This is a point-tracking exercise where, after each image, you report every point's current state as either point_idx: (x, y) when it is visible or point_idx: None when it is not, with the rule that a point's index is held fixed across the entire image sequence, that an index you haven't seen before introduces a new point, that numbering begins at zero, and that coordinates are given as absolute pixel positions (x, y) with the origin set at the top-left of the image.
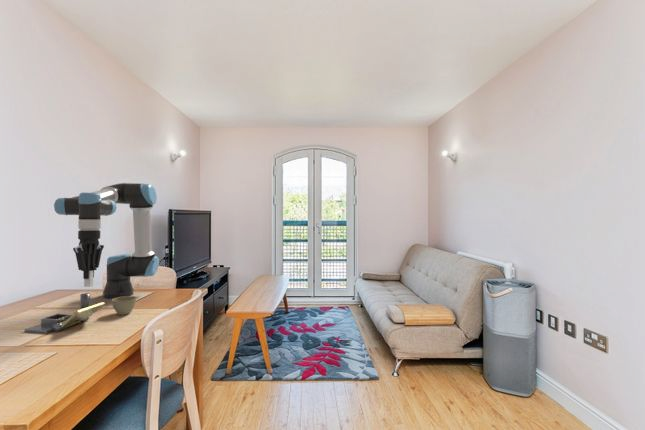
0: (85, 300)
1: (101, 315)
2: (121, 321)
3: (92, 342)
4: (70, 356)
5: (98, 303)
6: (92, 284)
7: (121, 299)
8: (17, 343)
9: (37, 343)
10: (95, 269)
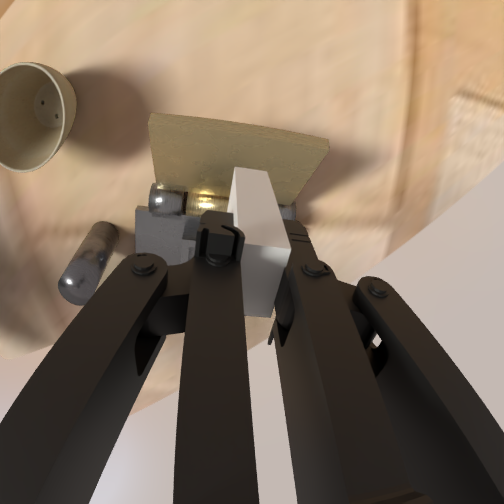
0: (93, 264)
1: (90, 176)
2: (155, 36)
3: (396, 24)
4: (478, 48)
5: (185, 126)
6: (241, 172)
7: (6, 154)
8: (373, 243)
9: (385, 191)
10: (223, 228)
